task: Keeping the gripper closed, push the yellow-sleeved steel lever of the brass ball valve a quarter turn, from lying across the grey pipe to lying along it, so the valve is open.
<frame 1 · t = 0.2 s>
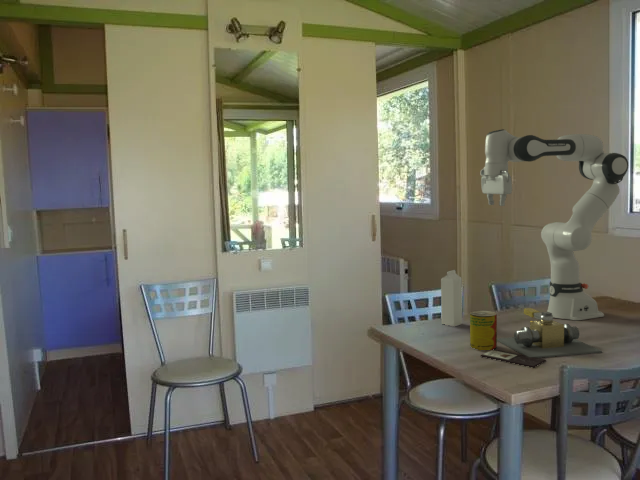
hand: (496, 205, 233), 48 cm above the table, tool pointing down, fingers open, 8 cm apart
lever: (538, 313, 205), point 10 cm above the table, hinge at 90.0°
milk: (451, 324, 235), on the table
mat: (546, 346, 201), on the table
valve body: (546, 333, 201), on the mat, point 4 cm above the table
chocolate bar: (512, 360, 188), on the table
yellow tin can: (483, 347, 202), on the table
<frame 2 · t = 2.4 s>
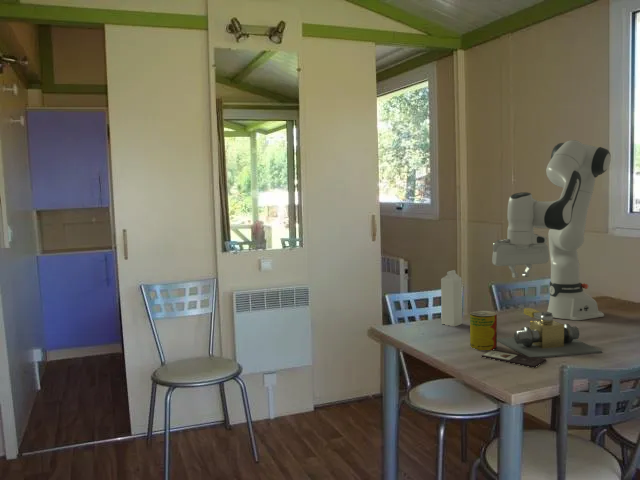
hand: (520, 277, 207), 23 cm above the table, tool pointing down, fingers open, 3 cm apart
nothing on the table moved.
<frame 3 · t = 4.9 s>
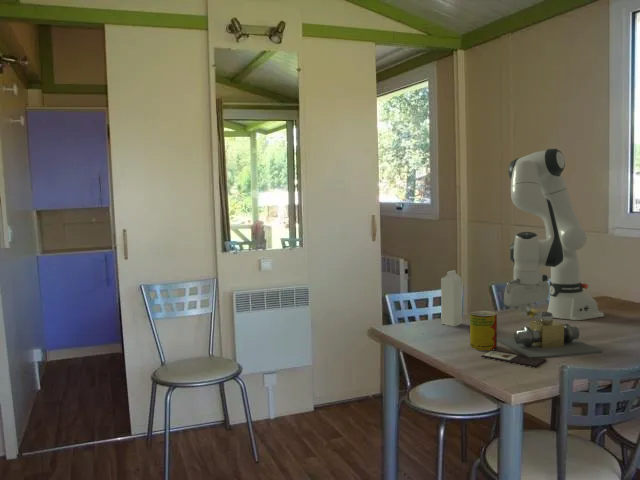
hand: (526, 315, 209), 9 cm above the table, tool pointing down, fingers closed
lever: (538, 313, 205), point 10 cm above the table, hinge at 88.6°, touching gripper
everything else where it was.
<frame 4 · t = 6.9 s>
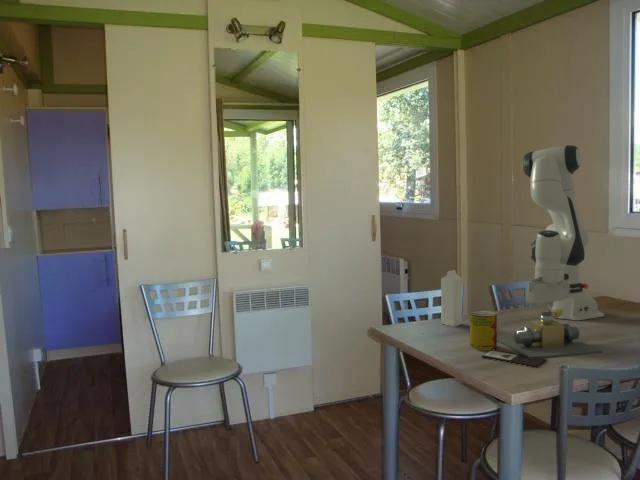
hand: (547, 314, 208), 9 cm above the table, tool pointing down, fingers closed
lever: (551, 314, 204), point 10 cm above the table, hinge at 41.2°, touching gripper
everything else where it was.
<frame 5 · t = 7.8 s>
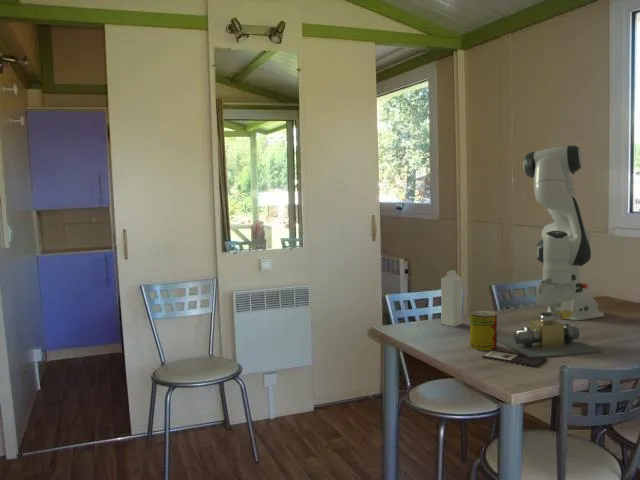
hand: (555, 315, 207), 9 cm above the table, tool pointing down, fingers closed, pressing on lever
lever: (556, 314, 203), point 10 cm above the table, hinge at 24.8°, touching gripper
everything else where it was.
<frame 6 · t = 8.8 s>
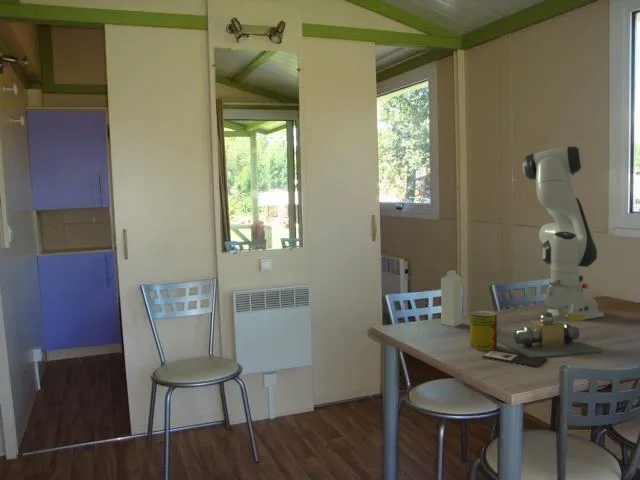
hand: (563, 317, 204), 9 cm above the table, tool pointing down, fingers closed
lever: (561, 316, 201), point 10 cm above the table, hinge at -1.9°, touching gripper
everything else where it was.
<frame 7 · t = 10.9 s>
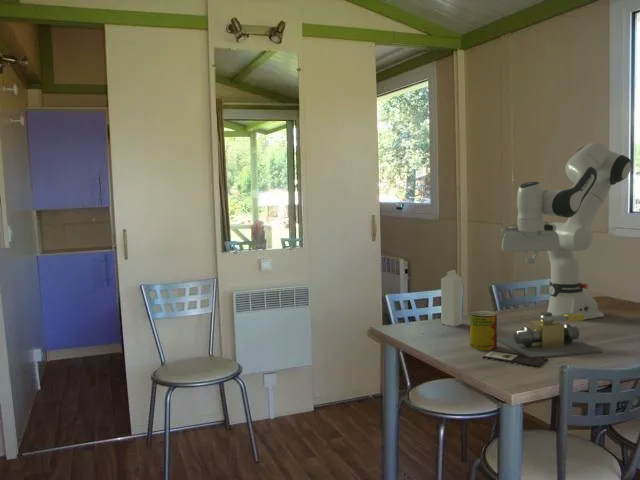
hand: (530, 263, 215), 27 cm above the table, tool pointing down, fingers closed
lever: (561, 316, 201), point 10 cm above the table, hinge at -1.9°
everything else where it was.
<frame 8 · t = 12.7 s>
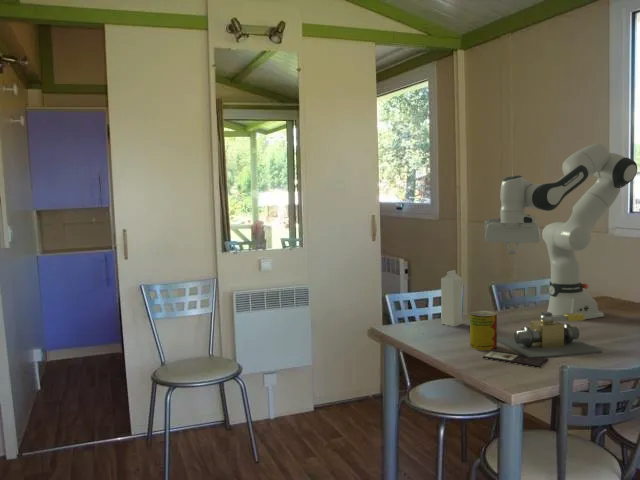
hand: (512, 254, 224), 29 cm above the table, tool pointing down, fingers closed
nothing on the table moved.
at the end: lever at -2° (first picture: +90°); lever touching nothing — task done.
